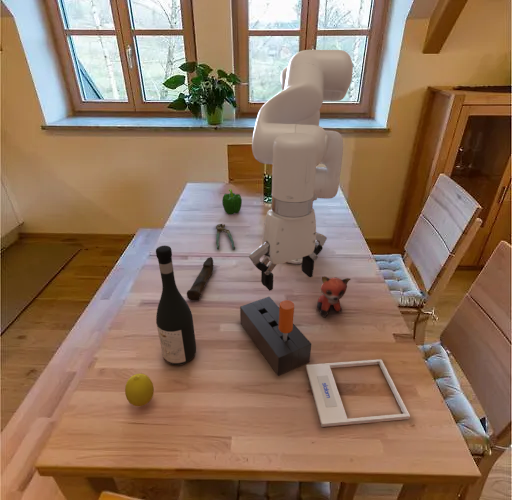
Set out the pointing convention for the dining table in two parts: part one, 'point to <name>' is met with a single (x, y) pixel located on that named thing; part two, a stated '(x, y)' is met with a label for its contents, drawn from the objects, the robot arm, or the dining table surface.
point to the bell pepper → (232, 202)
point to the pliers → (221, 228)
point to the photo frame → (330, 399)
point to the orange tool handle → (286, 318)
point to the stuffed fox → (331, 294)
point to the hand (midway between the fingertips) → (287, 280)
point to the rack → (274, 336)
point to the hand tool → (201, 280)
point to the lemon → (139, 389)
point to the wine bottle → (173, 315)
